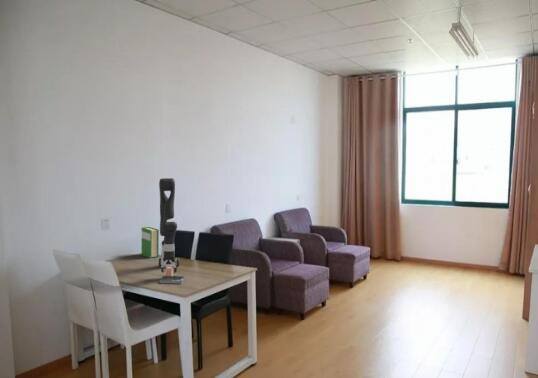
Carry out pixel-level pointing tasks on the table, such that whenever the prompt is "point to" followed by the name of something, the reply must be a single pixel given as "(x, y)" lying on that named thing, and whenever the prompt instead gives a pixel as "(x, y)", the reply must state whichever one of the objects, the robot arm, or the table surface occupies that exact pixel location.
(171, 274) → the salmon pink block
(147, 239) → the hardback book
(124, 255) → the table surface
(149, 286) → the table surface
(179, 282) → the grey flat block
